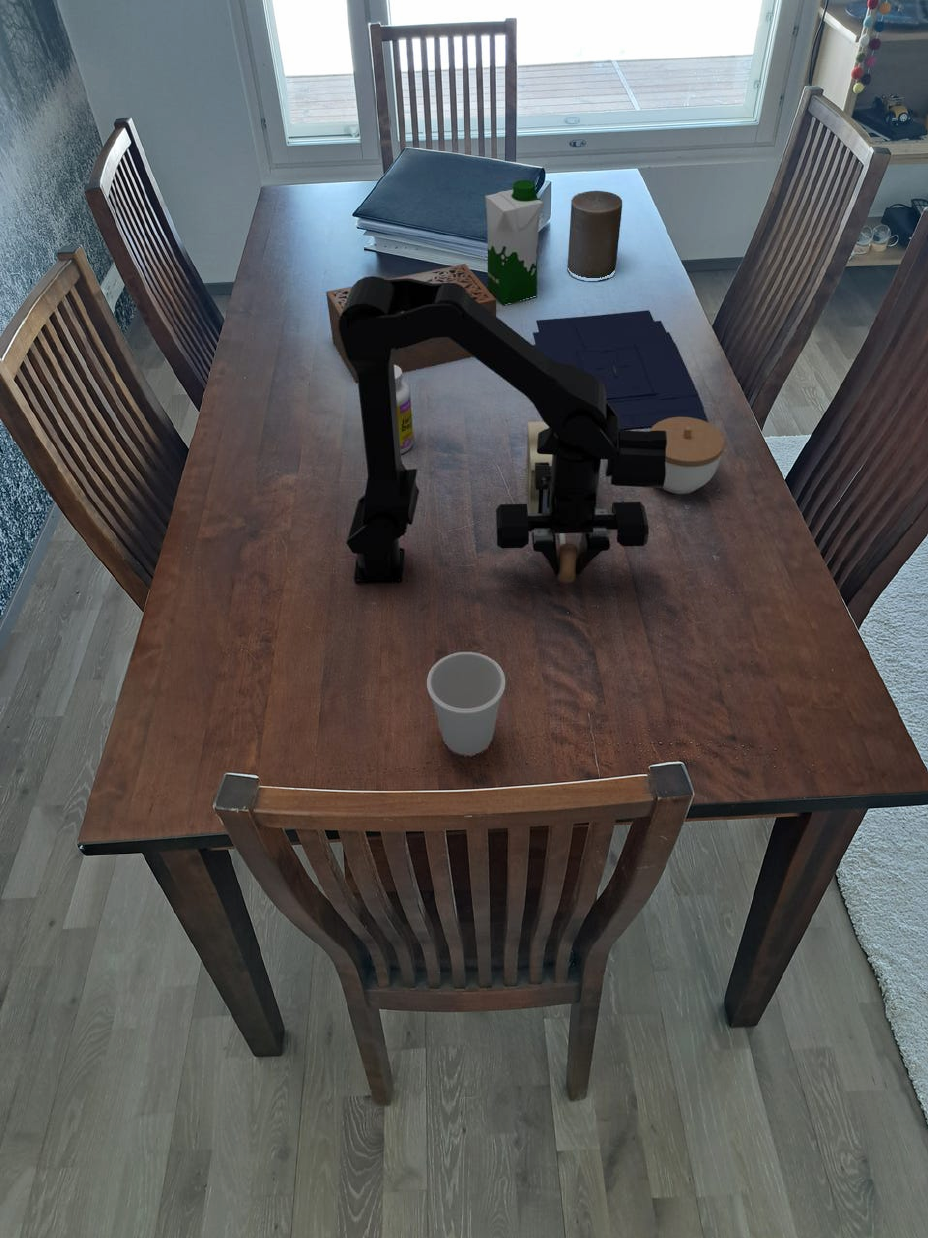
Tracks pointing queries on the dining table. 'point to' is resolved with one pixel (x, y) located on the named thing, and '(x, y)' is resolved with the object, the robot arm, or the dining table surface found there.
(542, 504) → the tethered block
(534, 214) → the milk carton
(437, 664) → the dixie cup
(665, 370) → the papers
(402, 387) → the supplement bottle
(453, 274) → the tissue box cover
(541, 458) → the cubby lane
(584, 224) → the pillar candle
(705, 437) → the lidded jar
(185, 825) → the dining table surface
